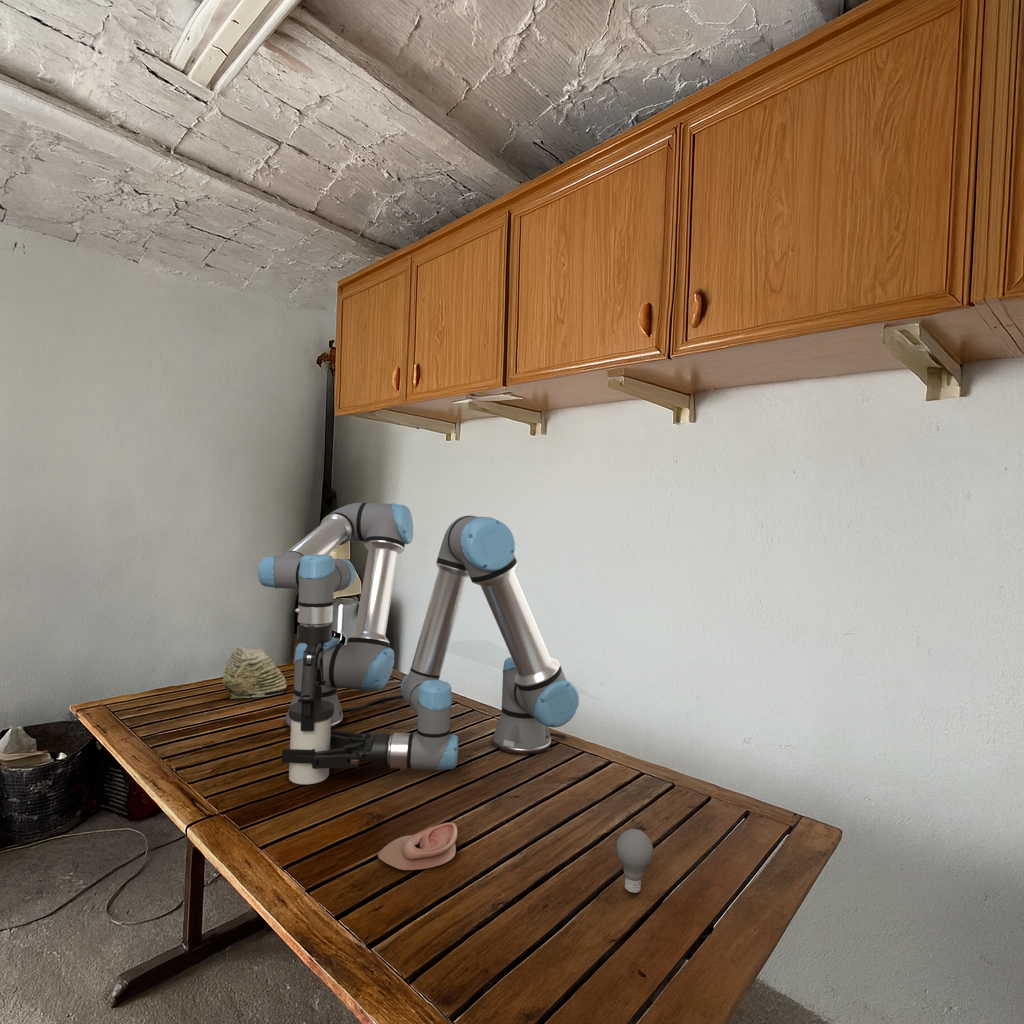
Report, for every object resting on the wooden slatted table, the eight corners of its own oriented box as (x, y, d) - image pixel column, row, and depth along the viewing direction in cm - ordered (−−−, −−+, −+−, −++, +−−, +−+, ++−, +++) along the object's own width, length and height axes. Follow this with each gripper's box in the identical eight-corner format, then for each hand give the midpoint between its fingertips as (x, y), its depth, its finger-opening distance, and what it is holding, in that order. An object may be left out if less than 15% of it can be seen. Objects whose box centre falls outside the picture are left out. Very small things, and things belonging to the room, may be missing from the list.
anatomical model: (371, 842, 110) (396, 811, 121) (370, 865, 110) (395, 831, 121) (444, 854, 107) (463, 821, 118) (443, 877, 107) (462, 842, 118)
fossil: (218, 695, 195) (220, 647, 195) (278, 685, 208) (279, 640, 207) (228, 703, 189) (230, 653, 188) (289, 692, 201) (290, 645, 201)
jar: (280, 780, 141) (283, 712, 140) (305, 765, 149) (308, 701, 149) (312, 787, 138) (315, 718, 138) (336, 772, 146) (339, 706, 146)
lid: (341, 710, 147) (341, 701, 147) (321, 724, 137) (322, 715, 137) (302, 706, 149) (302, 697, 149) (280, 720, 139) (280, 711, 139)
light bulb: (610, 879, 108) (613, 822, 108) (644, 879, 109) (647, 822, 109) (619, 902, 102) (622, 840, 102) (655, 901, 103) (658, 840, 103)
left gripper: (306, 614, 153) (302, 706, 154) (287, 634, 131) (283, 741, 132) (338, 614, 154) (334, 705, 155) (325, 634, 132) (321, 740, 133)
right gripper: (381, 788, 133) (272, 785, 132) (396, 748, 155) (303, 745, 154) (382, 752, 133) (273, 749, 132) (397, 717, 154) (304, 714, 154)
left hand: (311, 722), depth 143 cm, fingers closed on lid, 10 cm apart
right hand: (289, 747), depth 143 cm, fingers closed on jar, 9 cm apart
